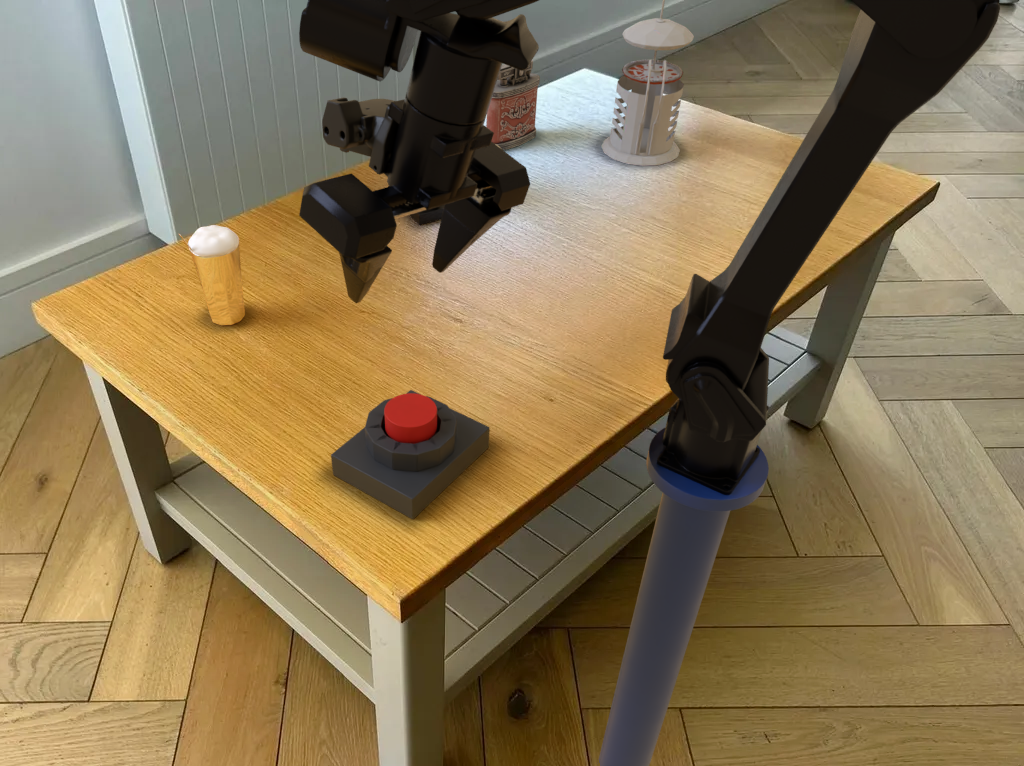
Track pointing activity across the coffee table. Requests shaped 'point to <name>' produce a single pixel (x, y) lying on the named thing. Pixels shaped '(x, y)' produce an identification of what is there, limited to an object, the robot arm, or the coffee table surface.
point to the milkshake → (219, 272)
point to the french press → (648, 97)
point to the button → (410, 418)
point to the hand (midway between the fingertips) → (397, 284)
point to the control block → (409, 459)
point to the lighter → (513, 107)
